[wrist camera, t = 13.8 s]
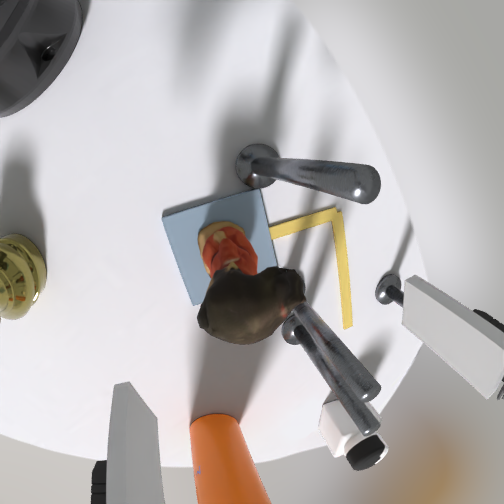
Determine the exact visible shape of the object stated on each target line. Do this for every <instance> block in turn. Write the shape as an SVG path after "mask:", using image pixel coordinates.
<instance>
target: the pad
mask: <svg viewBox="0 0 504 504" xmlns="http://www.w3.org/2000/svg"><path fill="white" fill-rule="evenodd" d="M220 221H230V222H232V223H234V224H237V225H238V226H240V227H242V228H243V229H244V231H245V236H246V238H247V239H248V241H249V242H250V243H251V245H252V247H253V249H254V251H255V253H256V254H257V256H258V264H257V273H260V272H261V271H263V270H265V269H266V268H267V267H273V266H277V263H276V258H275V254H274V250H273V245H272V241H271V236H270V232H269V228H268V223H267V219H266V215H265V210H264V206H263V202H262V198H261V193H260V189H258V188H257V189H253V190H250V191H246V192H243V193H239V194H236V195H232V196H229V197H225V198H222V199H219V200H215V201H212V202H209V203H206V204H202V205H199V206H196V207H193V208H190V209H186V210H183V211H180V212H177V213H174V214H171V215H168V216H165V217H162V222H163V225H164V228H165V231H166V234H167V237H168V240H169V242H170V245H171V248H172V251H173V254H174V257H175V259H176V262H177V265H178V268H179V270H180V273H181V276H182V279H183V281H184V284H185V286H186V289H187V292H188V294H189V297H190V299H191V302H192V304H193V306H195V305H198V304H201V303H202V302H203V300H204V298H205V295H206V291H207V289H208V286H209V283H210V281H211V278H210V277H209V275H208V273H207V272H206V269H205V267H204V263H203V260H202V258H201V255H200V250H199V246H198V241H197V238H198V234H199V232H200V231H201V230H202V229H203V228H204V227H206V226H208V225H209V224H211V223H213V222H220Z"/></svg>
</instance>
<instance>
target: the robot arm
mask: <svg viewBox="0 0 504 504" xmlns="http://www.w3.org/2000/svg"><path fill="white" fill-rule="evenodd" d="M81 26H82V10H81V6H80V3H79V1H78V0H0V118H2V117H6V116H9V115H11V114H14V113H16V112H18V111H20V110H21V109H23V108H25V107H26V106H28V105H29V104H30V103H32V102H33V101H34V100H35V99H36V98H38V97H39V96H40V95H41V94H42V93H43V92H44V91H45V90H46V89H47V88H48V87H49V86H50V85H51V83H52V82H53V81H54V80H55V79H56V77H57V76H58V75H59V73H60V72H61V71H62V69H63V68H64V66H65V65H66V63H67V61H68V60H69V58H70V56H71V54H72V52H73V50H74V48H75V46H76V43H77V41H78V38H79V35H80V31H81ZM402 325H403V326H404V327H406V328H407V329H408V330H409V331H410V332H411V333H413V334H414V335H415V336H416V337H417V338H419V339H420V340H421V341H422V342H423V343H424V344H425V345H427V346H428V347H429V348H430V349H432V351H434V352H435V353H436V354H437V355H438V356H439V357H441V358H442V359H443V360H444V361H445V362H446V363H447V364H448V365H450V366H451V367H452V368H453V369H454V370H455V371H456V372H457V373H459V374H460V375H461V376H462V377H463V378H464V379H465V380H466V381H467V382H468V383H470V384H471V385H472V386H473V387H474V388H475V389H476V390H477V391H478V392H479V393H480V394H482V395H483V396H484V397H485V398H486V399H488V398H489V397H490V396H491V395H492V394H493V393H494V392H495V391H496V390H497V388H498V386H499V384H500V382H501V381H503V382H504V325H503V324H502V323H499V321H497V320H496V319H493V317H491V316H490V315H488V314H487V313H485V312H483V311H480V310H477V309H474V310H473V311H472V310H470V309H469V308H467V307H466V306H464V305H462V304H461V303H459V302H458V301H456V300H455V299H453V298H452V297H450V296H449V295H447V294H446V293H444V292H443V291H441V290H439V289H438V288H436V287H435V286H433V285H431V284H430V283H428V282H427V281H425V280H423V279H422V278H420V277H418V276H417V275H414V276H412V277H410V278H408V279H406V280H405V286H404V303H403V315H402ZM503 392H504V385H503V387H502V388H501V390H500V392H499V394H498V397H497V399H498V400H499V399H500V397H501V396H502V394H503ZM502 399H504V395H503V397H502ZM91 493H92V495H91V504H165V500H164V493H163V485H162V476H161V465H160V454H159V440H158V423H157V417H156V416H155V415H154V414H153V412H152V411H151V410H150V409H149V407H148V406H147V405H146V403H145V402H144V401H143V399H142V398H141V397H140V395H139V394H138V393H137V391H136V390H135V389H134V387H133V386H132V385H131V383H130V382H125V383H121V384H116V385H114V390H113V398H112V406H111V415H110V425H109V437H108V452H107V460H104V461H97V462H96V464H95V467H94V469H93V471H92V486H91Z"/></svg>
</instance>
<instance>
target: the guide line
mask: <svg viewBox="0 0 504 504" xmlns="http://www.w3.org/2000/svg"><path fill="white" fill-rule="evenodd" d="M329 221H332V226H333V233H334V240H335V248H336V256H337V264H338V273H339V282H340V292H341V303H342V316H343V328H344V329H347V328H349V327H351V326H353V324H352V306H351V291H350V279H349V268H348V257H347V248H346V239H345V231H344V223H343V216H342V212H341V211H340V212H337V209H336V207H334V208H330V209H327V210H324V211H320V212H317V213H314V214H310V215H307V216H304V217H300V218H297V219H294V220H291V221H287V222H284V223H281V224H278V225H274V226H271V227H268V228H269V232H270V236H271V240H273V239H276V238H279V237H282V236H285V235H289V234H292V233H295V232H298V231H301V230H304V229H307V228H310V227H314V226H317V225H320V224H323V223H326V222H329Z"/></svg>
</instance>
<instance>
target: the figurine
mask: <svg viewBox="0 0 504 504" xmlns="http://www.w3.org/2000/svg"><path fill="white" fill-rule="evenodd" d="M197 241H198V246H199V250H200V255H201V258H202V260H203V263H204V267H205V269H206V272H207V273H208V275H209V277H210V278H211V281H210V283H209V286H208V289H207V291H206V295H205V298H204V300H203V302H202V304H201V308H200V310H199V313H198V316H197V319H198V323H199V326H200V328H202V329H204V330H205V331H206V332H207V333H209V334H210V335H211V336H214V337H216V338H218V339H221V340H223V341H227V342H230V343H234V344H240V345H245V344H253V343H256V342H259V341H261V340H263V339H265V338H267V337H269V336H270V335H272V334H273V333H274V331H275V330H276V329H277V328H278V327H279V326H280V325H281V324H282V323H283V322H284V320H285V319H286V318H287V316H288V315H289V314H290V313H291V311H292V310H293V309H294V308H295V307H296V306H297V305H299V304H301V303H304V302H306V297H305V296H304V293H303V286H304V285H303V282H302V279H301V277H300V276H299V274H298V273H297V272H296V271H295V270H294V269H292V270H289V269H284V268H278V267H277V266H273V267H267V268H266V269H265V270H263V271H261V272H260V273H257V264H258V256H257V254H256V253H255V251H254V249H253V247H252V245H251V243H250V242H249V241H248V239H247V238H246V236H245V231H244V229H243V228H242V227H240V226H238V225H237V224H234V223H232V222H230V221H220V222H213V223H211V224H209V225H208V226H206V227H204V228H203V229H202V230H201V231H200V232H199V234H198V238H197ZM286 271H287V272H286Z"/></svg>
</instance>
